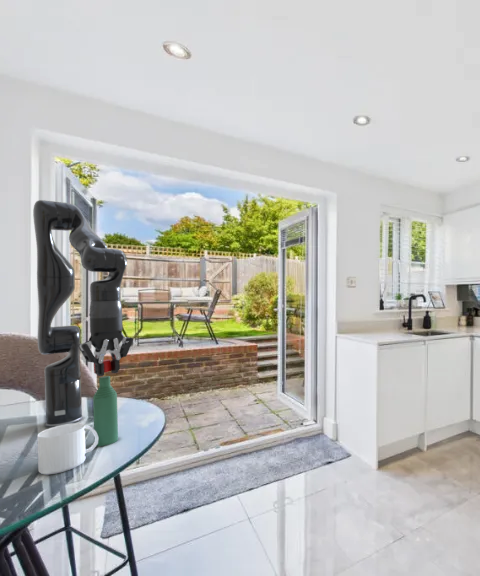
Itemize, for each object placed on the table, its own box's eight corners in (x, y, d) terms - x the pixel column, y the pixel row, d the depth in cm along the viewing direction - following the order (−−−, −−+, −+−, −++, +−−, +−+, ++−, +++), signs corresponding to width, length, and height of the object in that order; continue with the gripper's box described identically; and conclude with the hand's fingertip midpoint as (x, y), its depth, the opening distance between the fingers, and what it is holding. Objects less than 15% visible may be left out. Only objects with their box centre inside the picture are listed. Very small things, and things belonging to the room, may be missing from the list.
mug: (39, 479, 85) (38, 440, 84) (37, 466, 91) (36, 430, 91) (102, 460, 93) (101, 425, 93) (96, 449, 100) (95, 417, 99)
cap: (91, 374, 102) (90, 362, 102) (100, 370, 106) (99, 360, 106) (105, 372, 103) (104, 361, 103) (114, 369, 107) (113, 358, 107)
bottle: (93, 442, 105) (91, 377, 105) (116, 436, 109) (115, 373, 108) (95, 448, 101) (93, 380, 101) (119, 441, 105) (117, 376, 104)
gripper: (85, 318, 95) (86, 381, 95) (139, 314, 108) (140, 369, 108) (70, 317, 98) (71, 379, 99) (124, 313, 111) (125, 367, 111)
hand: (107, 373), depth 103 cm, fingers closed on cap, 3 cm apart
